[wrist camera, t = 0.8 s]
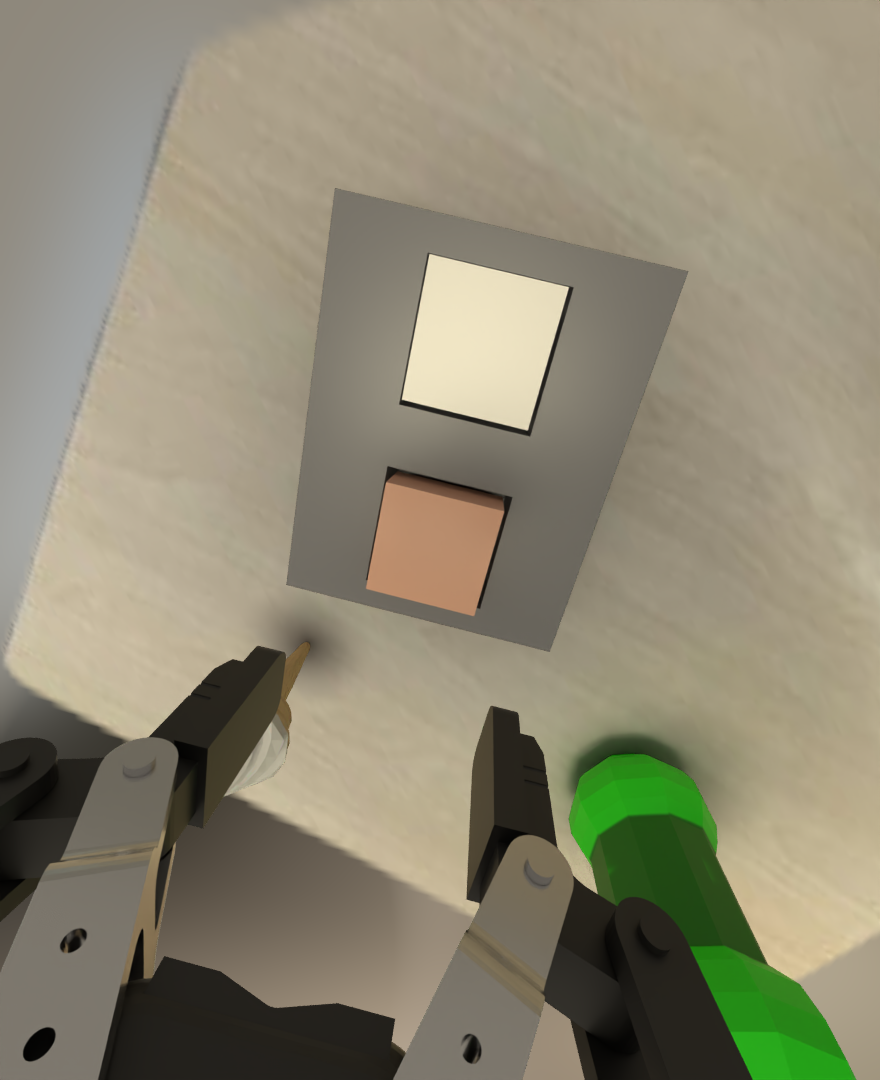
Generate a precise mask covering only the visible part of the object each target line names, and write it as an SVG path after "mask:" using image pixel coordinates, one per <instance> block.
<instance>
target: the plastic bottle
mask: <svg viewBox="0 0 880 1080" xmlns="http://www.w3.org/2000/svg"><path fill="white" fill-rule="evenodd" d="M569 823H570V829H571V834H572V835H573V837H574V838H575V840H576V842H577V843H578V845H579V847H580V848H581V850H582V852H583V853H584V855H585V857H586V858H587V860H588V861H589V863H590V865H591V866H592V869H593V873H594V878H595V883H596V887H597V892H598V895H600V896H601V897H603V898H605V899H606V900H608V901H610V902H611V903H613V904H615V905H616V906H618V904H619V903H620V902H621V901H622V900H623V899H625V898H628V897H639V898H643V899H646V900H648V901H650V902H652V903H654V904H656V905H657V906H659V907H660V908H661V909H662V910H664V911H665V912H666V913H667V914H668V915H669V916H670V917H671V918H672V919H673V920H674V921H675V923H676V924H677V925H678V927H679V928H680V930H681V931H682V933H683V934H684V936H685V938H686V940H687V942H688V944H689V946H690V948H691V950H692V952H693V955H694V957H695V959H696V961H697V963H698V965H699V967H700V969H701V971H702V974H703V976H704V978H705V980H706V982H707V984H708V986H709V988H710V990H711V992H712V995H713V997H714V999H715V1001H716V1003H717V1005H718V1007H719V1009H720V1011H721V1014H722V1016H723V1018H724V1020H725V1022H726V1024H727V1026H728V1028H729V1030H730V1032H731V1035H732V1037H733V1039H734V1041H735V1043H736V1045H737V1047H738V1049H739V1051H740V1054H741V1056H742V1058H743V1060H744V1062H745V1064H746V1066H747V1068H748V1070H749V1073H750V1075H751V1077H752V1079H753V1080H856V1078H855V1076H854V1074H853V1072H852V1070H851V1068H850V1066H849V1064H848V1062H847V1060H846V1058H845V1056H844V1054H843V1052H842V1050H841V1048H840V1047H839V1045H838V1043H837V1041H836V1039H835V1037H834V1035H833V1033H832V1031H831V1030H830V1028H829V1026H828V1024H827V1022H826V1020H825V1019H824V1018H823V1016H822V1014H821V1013H820V1012H819V1010H818V1009H817V1008H816V1006H815V1005H814V1003H813V1002H812V1001H811V999H810V998H809V996H808V995H807V994H806V992H805V991H804V989H803V988H802V987H801V985H800V984H798V983H797V982H795V981H794V980H792V979H790V978H789V977H787V976H785V975H784V974H782V973H781V972H779V971H777V970H776V969H774V968H773V967H771V966H769V965H768V964H767V962H766V960H765V957H764V955H763V953H762V951H761V949H760V947H759V945H758V943H757V941H756V939H755V937H754V935H753V932H752V930H751V928H750V926H749V924H748V922H747V920H746V918H745V916H744V914H743V912H742V909H741V907H740V905H739V903H738V901H737V899H736V897H735V895H734V893H733V891H732V889H731V887H730V884H729V882H728V880H727V878H726V876H725V874H724V872H723V870H722V868H721V866H720V864H719V861H718V859H717V857H716V851H717V828H716V824H715V822H714V820H713V818H712V816H711V814H710V812H709V810H708V808H707V806H706V804H705V802H704V800H703V798H702V796H701V794H700V792H699V790H698V788H697V786H696V784H695V782H694V780H692V779H691V778H690V777H689V776H688V775H686V774H685V773H684V772H683V771H681V770H679V769H677V768H675V767H673V766H670V765H668V764H666V763H664V762H662V761H659V760H657V759H655V758H653V757H650V756H648V755H645V754H634V753H632V754H619V755H611V756H609V757H608V758H606V759H605V760H603V761H602V762H600V763H599V764H597V765H596V766H595V767H593V768H592V769H590V770H589V771H587V772H586V773H584V774H583V775H582V776H581V777H580V779H579V783H578V786H577V790H576V793H575V797H574V800H573V804H572V808H571V812H570V816H569Z"/></svg>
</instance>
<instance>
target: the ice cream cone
mask: <svg viewBox="0 0 880 1080" xmlns="http://www.w3.org/2000/svg"><path fill="white" fill-rule="evenodd" d="M309 650H310V644H309V643H308V642H305V643H303V644H301V645H300V646H299V647H298V648H297V649H296V650H295V651H294V652H293V653H292V654H291V655H290V656H289V657H288V658H287V659H286V661H285V669H284V677H283V685H282V693H281V699H280V703H279V706H278V709H277V712H276V714H275V716H274V718H273V720H272V722H271V723H270V725H269V726H268V728H267V730H266V731H265V733H264V734H263V736H262V737H261V739H260V741H259V742H258V744H257V745H256V747H255V748H254V750H253V751H252V753H251V755H250V756H249V758H248V759H247V761H246V762H245V764H244V765H243V767H242V769H241V770H240V772H239V773H238V775H237V776H236V778H235V780H234V781H233V783H232V784H231V786H230V787H229V789H228V790H227V792H226V794H225V795H224V796H227V795H229V794H232V793H234V792H237V791H239V790H241V789H244V788H247V787H249V786H252V785H254V784H257V783H260V782H262V781H264V780H266V779H269V778H271V777H273V776H274V775H275V774H276V773H277V771H278V770H279V769H280V768H281V766H282V765H283V764H284V763H285V759H286V754H287V749H288V746H289V730H288V729H289V726H290V723H291V710H290V708H289V705H288V703H287V702H286V699H287V697H288V695H289V693H290V691H291V689H292V687H293V685H294V682H295V680H296V678H297V676H298V673H299V672H300V669H301V667H302V665H303V662H304V660H305V658H306V656H307V654H308V652H309Z"/></svg>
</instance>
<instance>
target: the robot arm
mask: <svg viewBox="0 0 880 1080" xmlns="http://www.w3.org/2000/svg"><path fill="white" fill-rule="evenodd" d="M285 661H286V654H285V653H284V652H281V651H277V650H273V649H269V648H265V647H261V646H257V647H256V648H255V649H254V650H253V651H252V652H251V653H250V654H249V656H248V657H247V658H246V659H245V660H244V661H243V662H242V661H238V660H234V659H232V660H230V661H228V662H226V663H224V664H223V665H221V666H219V667H217V668H215V669H214V670H213V671H212V672H211V673H210V674H209V675H208V676H207V677H206V678H205V679H204V680H203V681H202V683H201V685H200V684H199V685H198V686H197V687H196V688H195V689H194V691H193V692H192V693H191V695H190V696H188V697H187V698H186V699H185V700H184V701H183V702H182V703H181V704H180V705H179V706H178V707H177V708H176V709H175V710H174V711H173V712H172V713H171V714H170V716H169V717H168V718H167V719H166V720H165V721H164V722H163V723H162V724H161V725H160V726H159V727H158V728H157V729H156V730H155V731H154V732H153V733H152V734H151V735H150V736H149V737H147V738H140V739H136V740H132V741H129V742H127V743H125V744H122V745H121V746H119V747H117V748H116V749H114V750H113V751H111V752H110V753H109V754H108V755H107V756H106V757H105V758H91V759H57V750H56V748H55V746H54V745H53V744H52V743H51V742H49V741H47V740H44V739H40V738H21V739H15V740H11V741H7V742H4V743H1V744H0V922H1V921H2V920H3V919H4V918H5V917H6V916H7V915H8V914H9V913H10V912H11V911H12V910H13V909H15V908H16V907H17V906H18V905H19V904H20V903H21V902H22V901H23V900H24V899H25V898H27V897H28V896H29V895H30V894H31V893H32V892H33V891H34V890H35V889H36V891H35V893H34V895H33V898H32V900H31V902H30V905H29V907H28V909H27V912H26V914H25V916H24V919H23V921H22V923H21V926H20V928H19V930H18V932H17V935H16V937H15V939H14V942H13V944H12V946H11V949H10V951H9V953H8V956H7V958H6V960H5V963H4V965H3V968H2V970H1V972H0V1080H522V1079H523V1076H524V1072H525V1069H526V1066H527V1062H528V1059H529V1055H530V1052H531V1048H532V1045H533V1041H534V1038H535V1034H536V1031H537V1027H538V1024H539V1020H540V1017H541V1012H542V1009H543V1005H544V1001H545V1002H547V1003H548V1004H550V1005H551V1006H553V1007H554V1008H555V1009H557V1010H558V1011H559V1012H561V1013H562V1014H564V1015H565V1016H567V1017H568V1018H569V1019H570V1020H571V1024H572V1028H573V1032H574V1037H575V1041H576V1045H577V1049H578V1053H579V1057H580V1062H581V1066H582V1070H583V1074H584V1078H585V1080H753V1079H752V1077H751V1075H750V1073H749V1070H748V1068H747V1066H746V1064H745V1062H744V1060H743V1058H742V1056H741V1054H740V1051H739V1049H738V1047H737V1045H736V1043H735V1041H734V1039H733V1037H732V1035H731V1032H730V1030H729V1028H728V1026H727V1024H726V1022H725V1020H724V1018H723V1016H722V1014H721V1011H720V1009H719V1007H718V1005H717V1003H716V1001H715V999H714V997H713V995H712V992H711V990H710V988H709V986H708V984H707V982H706V980H705V978H704V976H703V974H702V971H701V969H700V967H699V965H698V963H697V961H696V959H695V957H694V955H693V952H692V950H691V948H690V946H689V944H688V942H687V940H686V938H685V936H684V934H683V933H682V931H681V930H680V928H679V927H678V925H677V924H676V923H675V921H674V920H673V919H672V918H671V917H670V916H669V915H668V914H667V913H666V912H665V911H664V910H662V909H661V908H660V907H659V906H657V905H656V904H654V903H652V902H650V901H648V900H646V899H643V898H639V897H628V898H625V899H623V900H622V901H621V902H620V903H619V904H618V906H616V905H615V904H613V903H611V902H610V901H608V900H606V899H605V898H603V897H601V896H600V895H598V894H596V893H595V892H593V891H591V890H590V889H588V888H587V887H585V886H584V885H583V884H582V883H580V882H579V881H578V880H577V879H576V878H575V877H574V876H573V874H572V871H571V868H570V866H569V864H568V862H567V860H566V858H565V857H564V856H563V854H562V853H561V852H560V851H559V850H558V848H557V843H556V836H555V829H554V822H553V815H552V809H551V802H550V795H549V789H548V781H547V775H546V767H545V761H544V754H543V752H542V750H541V749H540V747H539V745H538V743H537V742H536V740H535V738H534V737H532V736H528V735H524V734H520V725H519V715H518V713H517V712H514V711H510V710H506V709H502V708H498V707H494V706H491V707H490V709H489V711H488V714H487V717H486V720H485V723H484V726H483V729H482V733H481V736H480V739H479V742H478V745H477V748H476V752H475V756H474V761H473V768H472V786H471V809H470V831H469V854H468V877H467V900H470V901H474V902H478V903H480V906H479V909H478V911H477V913H476V915H475V917H474V919H473V921H472V923H471V925H470V927H469V929H468V930H466V932H465V934H464V936H463V938H462V940H461V941H460V943H459V945H458V947H457V950H456V952H455V954H454V956H453V958H452V960H451V962H450V964H449V966H448V968H447V970H446V972H445V974H444V976H443V978H442V980H441V982H440V984H439V986H438V988H437V991H436V993H435V995H434V997H433V999H432V1001H431V1003H430V1005H429V1007H428V1009H427V1011H426V1013H425V1015H424V1017H423V1019H422V1021H421V1023H420V1026H419V1027H418V1030H417V1032H416V1034H415V1036H414V1038H413V1040H412V1042H411V1044H410V1046H409V1048H408V1050H407V1052H406V1053H405V1051H403V1050H402V1049H401V1048H400V1047H398V1046H397V1045H396V1044H394V1043H393V1042H392V1035H393V1029H394V1022H395V1019H393V1018H390V1017H386V1016H382V1015H379V1014H375V1013H371V1012H368V1011H364V1010H360V1009H357V1008H353V1007H349V1006H346V1005H341V1004H338V1003H336V1004H323V1005H310V1006H297V1007H285V1008H273V1007H270V1006H268V1005H266V1004H265V1003H263V1002H262V1001H261V1000H259V999H258V998H256V997H255V996H254V995H252V994H251V993H250V992H248V991H247V990H245V989H244V988H243V987H241V986H240V985H238V984H237V983H236V982H234V981H233V980H232V979H230V978H229V977H227V976H226V975H225V974H223V973H222V972H220V971H217V970H213V969H209V968H205V967H202V966H198V965H195V964H191V963H187V962H183V961H180V960H176V959H173V958H169V957H165V956H164V958H163V960H162V961H161V963H160V965H159V967H158V968H157V970H156V972H155V974H154V975H153V973H154V965H155V955H156V948H157V942H158V935H159V930H160V926H161V920H162V915H163V910H164V905H165V900H166V894H167V889H168V884H169V878H170V874H171V868H172V864H173V858H174V853H175V846H176V841H177V839H178V838H179V836H180V835H181V833H182V832H183V830H184V829H185V827H186V826H187V825H192V826H196V827H200V828H204V826H205V825H206V823H207V821H208V820H209V818H210V817H211V815H212V814H213V812H214V811H215V809H216V808H217V806H218V804H219V803H220V801H221V800H222V798H223V797H224V795H225V794H226V792H227V790H228V789H229V787H230V786H231V784H232V783H233V781H234V780H235V778H236V776H237V775H238V773H239V772H240V770H241V769H242V767H243V765H244V764H245V762H246V761H247V759H248V758H249V756H250V755H251V753H252V751H253V750H254V748H255V747H256V745H257V744H258V742H259V741H260V739H261V737H262V736H263V734H264V733H265V731H266V730H267V728H268V726H269V725H270V723H271V722H272V720H273V718H274V716H275V714H276V712H277V709H278V706H279V703H280V699H281V693H282V685H283V677H284V669H285Z"/></svg>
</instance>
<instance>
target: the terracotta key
mask: <svg viewBox="0 0 880 1080" xmlns="http://www.w3.org/2000/svg"><path fill="white" fill-rule="evenodd" d="M503 514H504V505H503V497H500V496H496V495H492V494H488V493H484V492H480V491H476V490H472V489H468V488H464V487H460V486H456V485H452V484H448V483H444V482H440V481H436V480H432V479H428V478H424V477H420V476H415V475H411V474H407V473H403V472H399V471H397V472H396V473H395V474H394V475H393V476H392V477H391V478H390V479H389V480H388V481H387V482H386V485H385V491H384V496H383V501H382V507H381V512H380V517H379V522H378V528H377V533H376V538H375V543H374V549H373V554H372V559H371V564H370V570H369V575H368V580H367V585H366V589H369V590H372V591H376V592H380V593H384V594H388V595H392V596H396V597H400V598H404V599H408V600H412V601H416V602H420V603H424V604H428V605H432V606H436V607H439V608H443V609H447V610H451V611H455V612H459V613H463V614H467V615H471V616H474V615H475V611H476V608H477V605H478V601H479V598H480V594H481V591H482V587H483V584H484V580H485V577H486V573H487V570H488V566H489V563H490V559H491V556H492V553H493V549H494V546H495V542H496V539H497V535H498V532H499V528H500V525H501V521H502V518H503Z"/></svg>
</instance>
